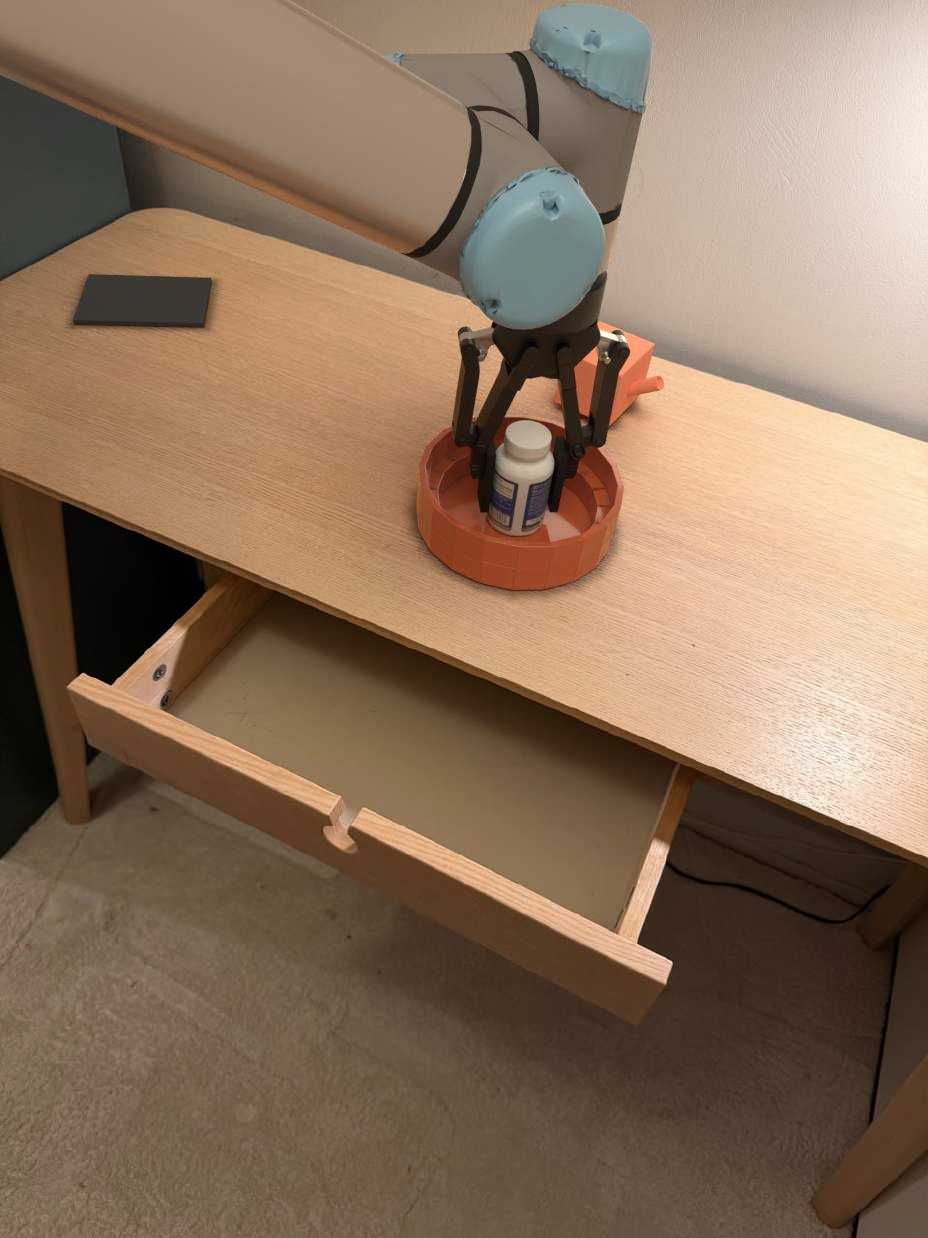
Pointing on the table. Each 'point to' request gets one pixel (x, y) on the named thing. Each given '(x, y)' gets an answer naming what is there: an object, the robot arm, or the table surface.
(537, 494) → the pill bottle
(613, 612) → the table surface
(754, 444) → the table surface
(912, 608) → the table surface
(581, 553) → the bowl
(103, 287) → the mat
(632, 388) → the pink cube teapot
